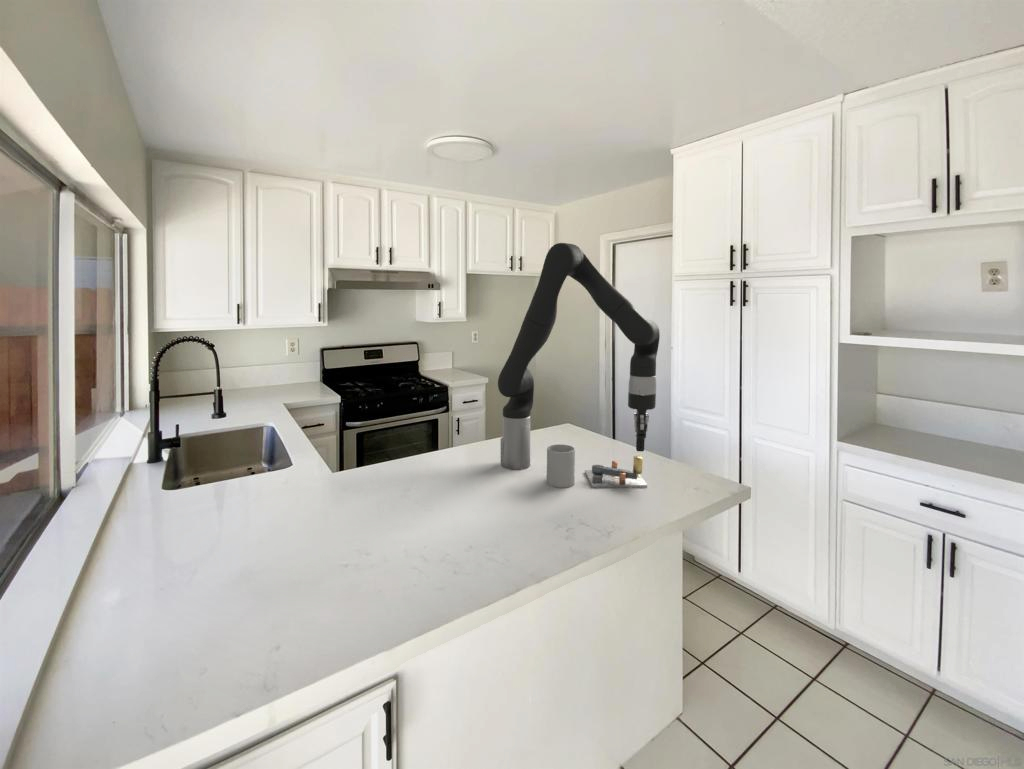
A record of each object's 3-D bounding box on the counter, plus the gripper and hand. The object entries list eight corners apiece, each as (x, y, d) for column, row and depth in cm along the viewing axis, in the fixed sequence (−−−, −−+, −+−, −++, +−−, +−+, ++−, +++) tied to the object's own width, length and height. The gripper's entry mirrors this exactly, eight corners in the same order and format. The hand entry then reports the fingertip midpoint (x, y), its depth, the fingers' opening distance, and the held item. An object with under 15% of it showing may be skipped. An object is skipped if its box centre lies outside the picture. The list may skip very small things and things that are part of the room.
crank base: (591, 487, 144) (592, 474, 144) (584, 472, 157) (585, 460, 157) (647, 487, 145) (647, 474, 144) (635, 472, 158) (636, 460, 157)
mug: (576, 488, 144) (577, 452, 142) (547, 488, 144) (548, 452, 142) (570, 473, 156) (571, 440, 154) (544, 474, 156) (544, 441, 154)
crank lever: (590, 473, 150) (590, 452, 149) (593, 469, 153) (594, 449, 152) (640, 481, 143) (641, 459, 142) (642, 476, 146) (643, 455, 145)
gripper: (627, 387, 144) (626, 443, 147) (629, 395, 131) (627, 456, 134) (654, 387, 142) (651, 444, 145) (658, 395, 130) (655, 458, 132)
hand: (640, 450), depth 140 cm, fingers closed
